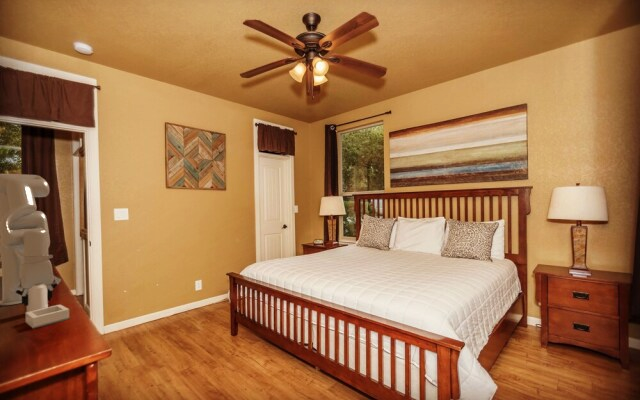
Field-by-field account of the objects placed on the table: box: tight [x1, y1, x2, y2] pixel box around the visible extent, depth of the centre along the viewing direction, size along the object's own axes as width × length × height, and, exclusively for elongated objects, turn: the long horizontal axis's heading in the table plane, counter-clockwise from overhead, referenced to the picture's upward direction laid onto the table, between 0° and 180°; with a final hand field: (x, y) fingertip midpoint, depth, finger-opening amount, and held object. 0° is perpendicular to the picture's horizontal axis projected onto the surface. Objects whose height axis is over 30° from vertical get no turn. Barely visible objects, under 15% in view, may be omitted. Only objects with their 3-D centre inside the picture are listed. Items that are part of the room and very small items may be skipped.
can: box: [26, 283, 49, 312], centre depth 126 cm, size 6×6×12 cm
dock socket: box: [25, 304, 70, 329], centre depth 116 cm, size 10×10×4 cm
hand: (37, 302), depth 126 cm, fingers closed on can, 6 cm apart
